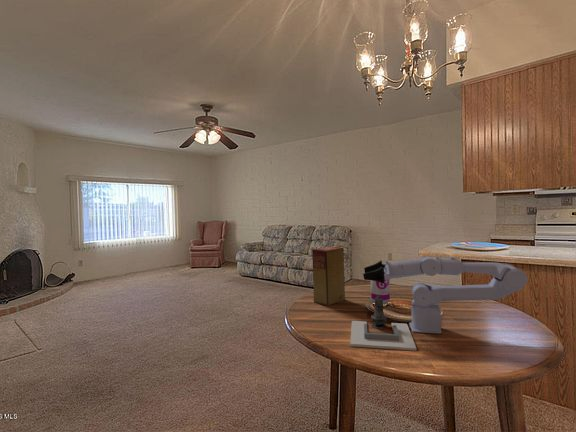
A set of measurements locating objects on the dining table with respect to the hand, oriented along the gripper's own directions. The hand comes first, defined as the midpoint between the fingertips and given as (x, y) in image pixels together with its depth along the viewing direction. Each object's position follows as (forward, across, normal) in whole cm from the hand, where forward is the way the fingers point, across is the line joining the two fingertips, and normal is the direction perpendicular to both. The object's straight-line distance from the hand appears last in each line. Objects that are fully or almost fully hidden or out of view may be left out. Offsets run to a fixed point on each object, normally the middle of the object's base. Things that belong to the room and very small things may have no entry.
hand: (364, 273), depth 118 cm
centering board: (-3, +10, +19) cm, 22 cm away
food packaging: (+21, -24, +18) cm, 37 cm away
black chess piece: (-2, +3, +20) cm, 20 cm away
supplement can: (-2, -23, +22) cm, 32 cm away
